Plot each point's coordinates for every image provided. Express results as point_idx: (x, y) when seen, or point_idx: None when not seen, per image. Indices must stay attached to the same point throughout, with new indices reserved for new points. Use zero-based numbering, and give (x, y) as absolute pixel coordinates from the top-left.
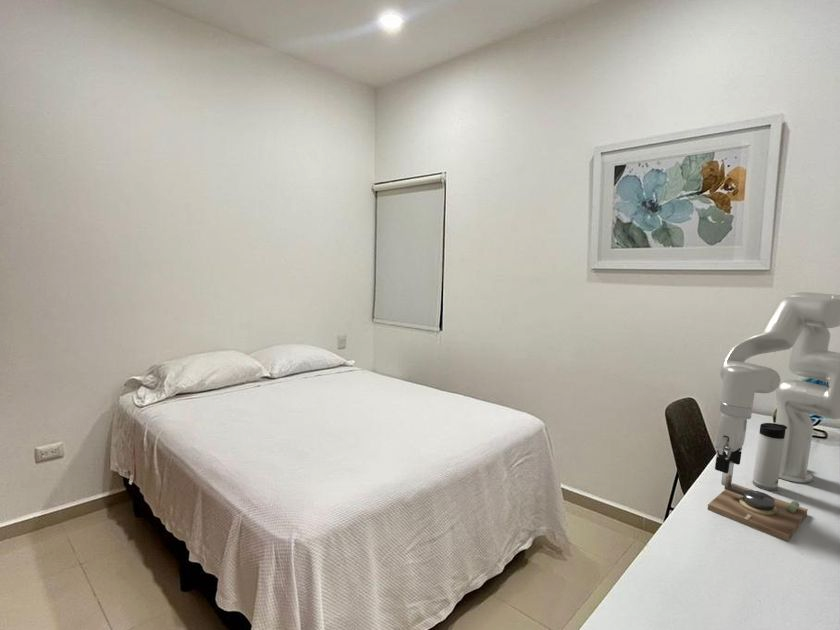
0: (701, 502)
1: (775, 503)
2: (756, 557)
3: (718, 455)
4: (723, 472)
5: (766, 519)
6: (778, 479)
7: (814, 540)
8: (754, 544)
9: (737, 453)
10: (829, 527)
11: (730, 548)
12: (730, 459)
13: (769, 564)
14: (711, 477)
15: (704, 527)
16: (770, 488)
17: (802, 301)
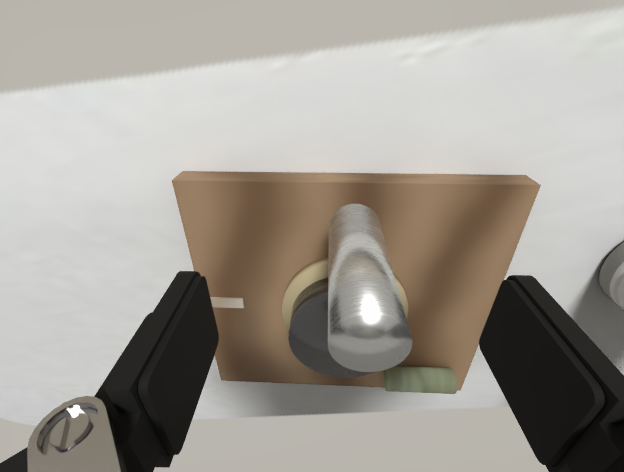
0: (220, 129)
1: (430, 334)
2: (65, 336)
3: (11, 460)
4: (336, 257)
5: (267, 336)
6: None
7: (299, 394)
8: (121, 323)
9: (538, 432)
10: (411, 407)
11: (25, 291)
12: (509, 314)
13: (72, 356)
14: (620, 45)
15: (39, 210)
16: (607, 292)
17: None
